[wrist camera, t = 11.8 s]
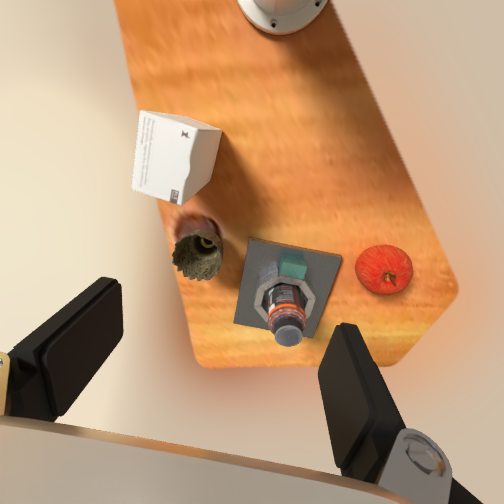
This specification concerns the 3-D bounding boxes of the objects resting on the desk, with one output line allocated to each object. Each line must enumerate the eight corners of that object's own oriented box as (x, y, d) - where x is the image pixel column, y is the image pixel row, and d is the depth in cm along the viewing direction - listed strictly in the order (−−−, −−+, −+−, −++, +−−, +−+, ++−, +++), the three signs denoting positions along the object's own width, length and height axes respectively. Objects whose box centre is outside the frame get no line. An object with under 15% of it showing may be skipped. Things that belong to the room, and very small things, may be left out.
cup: (196, 212, 42) (181, 226, 35) (236, 231, 43) (229, 249, 36) (182, 248, 45) (165, 268, 38) (219, 265, 46) (209, 288, 39)
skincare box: (186, 116, 37) (136, 101, 23) (225, 130, 37) (199, 124, 24) (175, 173, 40) (125, 189, 26) (211, 185, 40) (181, 208, 27)
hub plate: (249, 237, 44) (247, 246, 40) (340, 254, 44) (346, 265, 40) (234, 319, 51) (231, 333, 47) (311, 334, 51) (315, 349, 47)
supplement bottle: (261, 287, 46) (259, 330, 36) (290, 272, 44) (297, 313, 34) (278, 310, 48) (280, 357, 37) (306, 297, 46) (317, 342, 36)
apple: (409, 252, 43) (437, 275, 35) (376, 286, 46) (396, 314, 38) (372, 229, 42) (393, 247, 34) (341, 266, 45) (354, 290, 37)
